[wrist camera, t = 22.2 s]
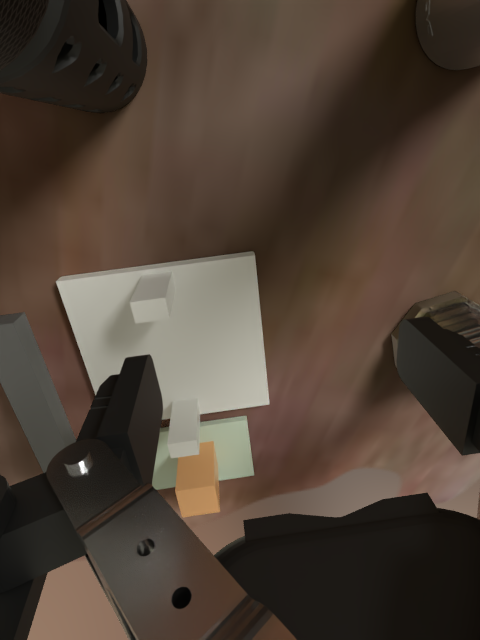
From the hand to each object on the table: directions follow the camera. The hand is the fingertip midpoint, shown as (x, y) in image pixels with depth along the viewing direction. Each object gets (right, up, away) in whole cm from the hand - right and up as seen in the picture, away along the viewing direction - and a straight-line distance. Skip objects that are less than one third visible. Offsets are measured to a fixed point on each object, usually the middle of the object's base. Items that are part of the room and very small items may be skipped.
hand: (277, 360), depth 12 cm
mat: (-7, -16, +39) cm, 43 cm away
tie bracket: (-9, -1, +31) cm, 32 cm away
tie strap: (-19, -7, +23) cm, 31 cm away
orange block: (-6, -18, +39) cm, 43 cm away
